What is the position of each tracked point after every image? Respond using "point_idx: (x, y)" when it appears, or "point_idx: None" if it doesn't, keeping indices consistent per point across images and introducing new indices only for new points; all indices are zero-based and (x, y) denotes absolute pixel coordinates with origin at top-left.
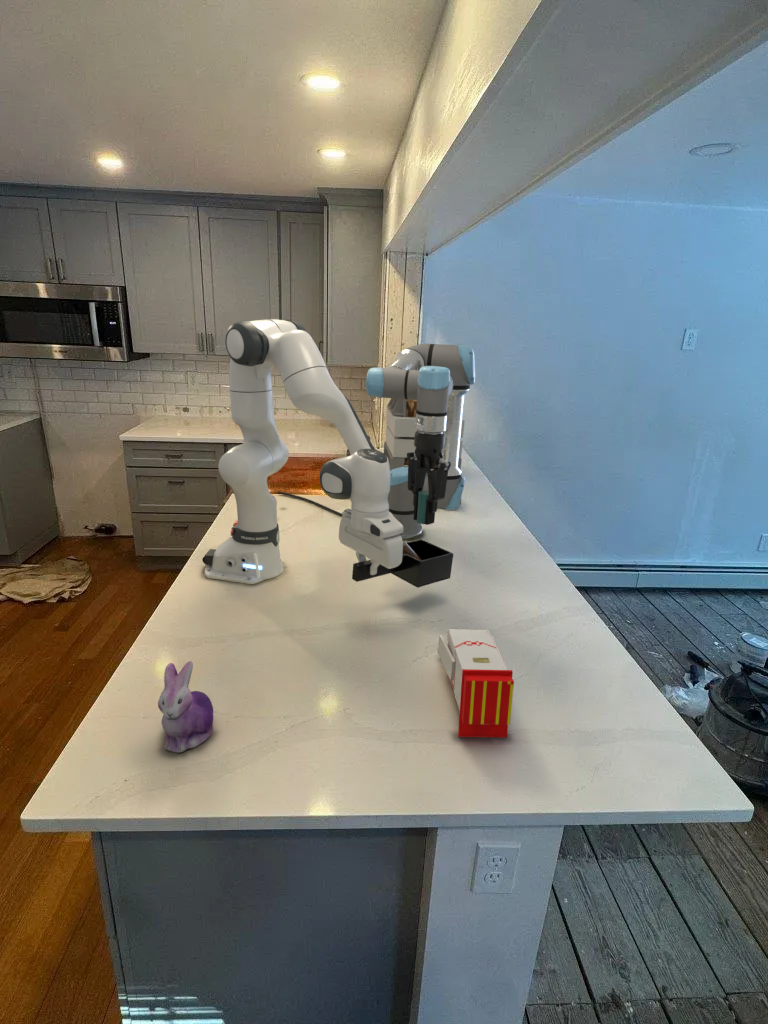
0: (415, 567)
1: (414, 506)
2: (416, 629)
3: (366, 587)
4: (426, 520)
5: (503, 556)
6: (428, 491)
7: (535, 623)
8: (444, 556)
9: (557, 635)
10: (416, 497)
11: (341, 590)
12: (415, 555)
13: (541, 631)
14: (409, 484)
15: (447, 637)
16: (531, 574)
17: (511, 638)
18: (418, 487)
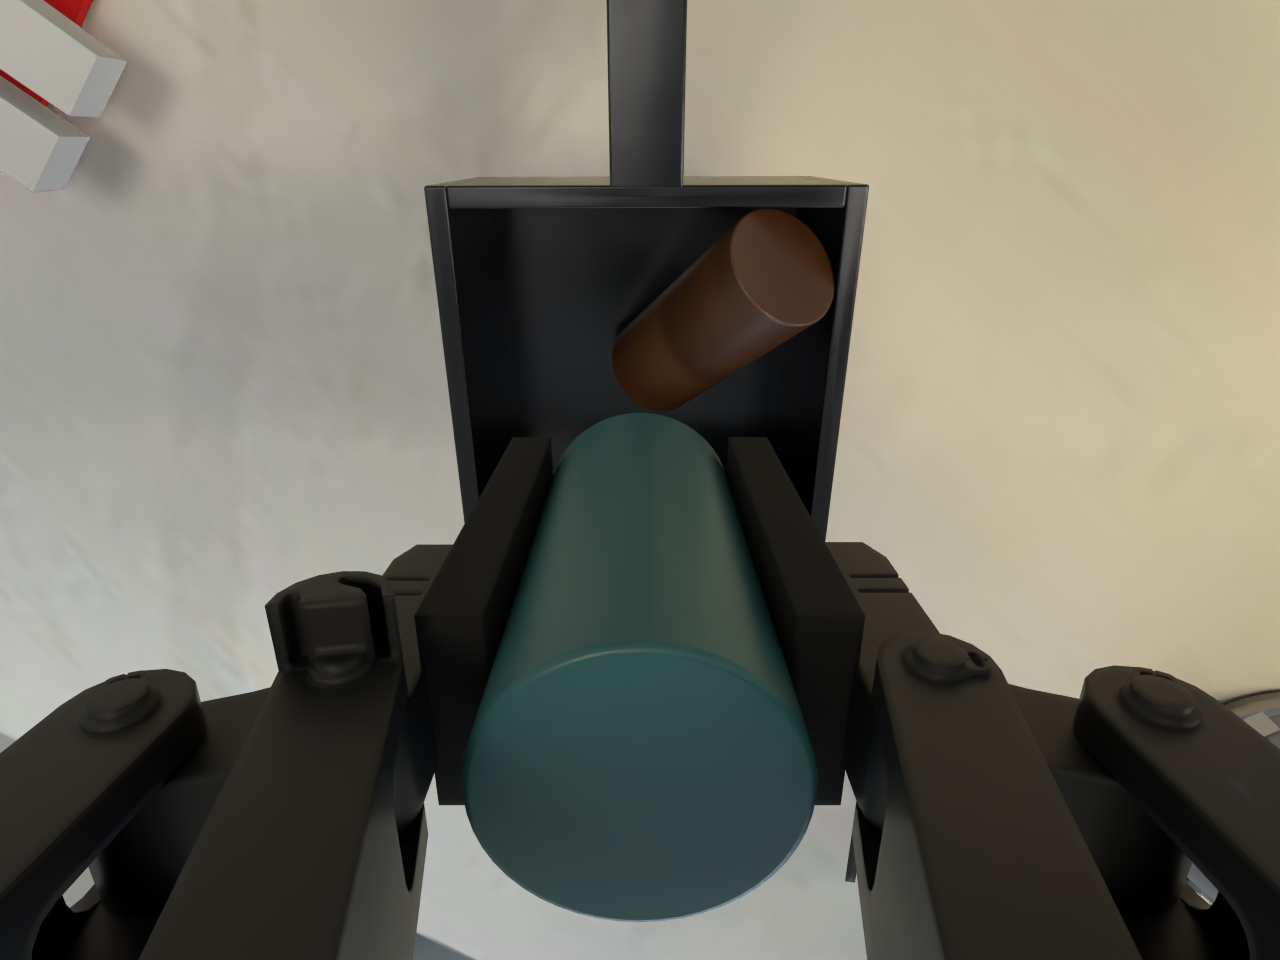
0: (494, 182)
1: (799, 508)
2: (418, 97)
3: (944, 191)
4: (516, 457)
5: (711, 932)
6: (663, 888)
7: (194, 606)
8: (460, 473)
9: (78, 601)
10: (803, 599)
11: (1029, 26)
12: (664, 345)
13: (130, 576)
14: (1251, 787)
15: (119, 59)
16: (521, 895)
17: (137, 431)
18: (895, 828)
